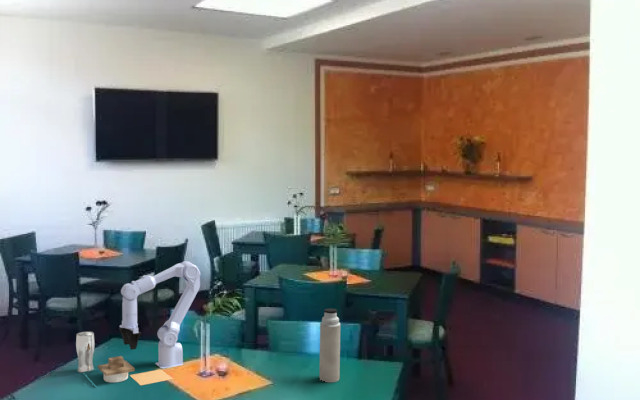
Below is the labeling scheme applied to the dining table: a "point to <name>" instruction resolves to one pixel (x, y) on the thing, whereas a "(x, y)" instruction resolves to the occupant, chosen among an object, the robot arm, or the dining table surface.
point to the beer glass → (85, 351)
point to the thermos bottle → (330, 346)
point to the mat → (151, 377)
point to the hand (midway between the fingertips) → (130, 346)
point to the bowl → (116, 377)
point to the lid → (116, 366)
